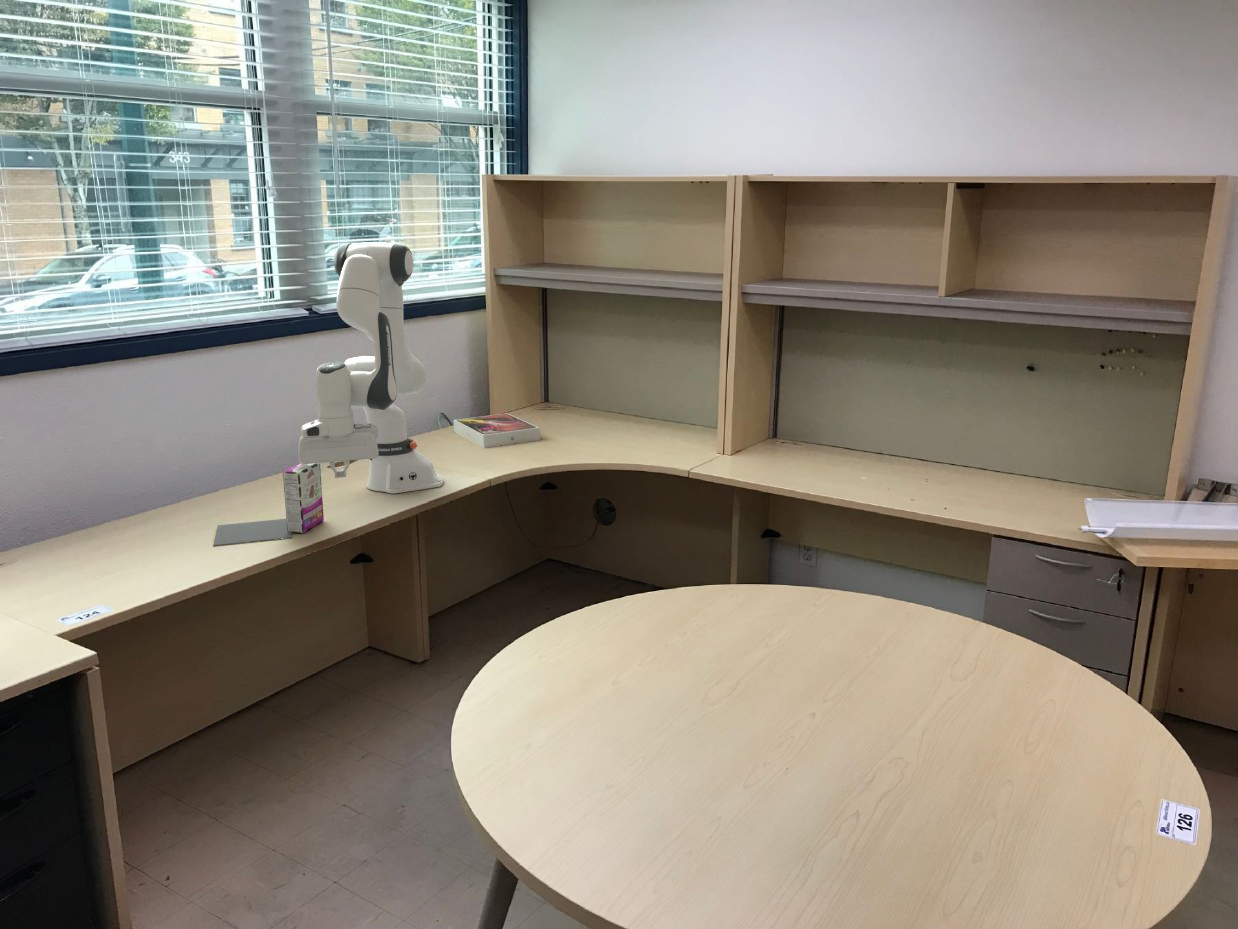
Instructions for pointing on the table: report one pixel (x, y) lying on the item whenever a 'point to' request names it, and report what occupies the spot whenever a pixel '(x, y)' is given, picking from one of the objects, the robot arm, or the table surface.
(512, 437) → the product packaging
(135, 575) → the table surface
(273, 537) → the mat
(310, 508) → the candy bar box
